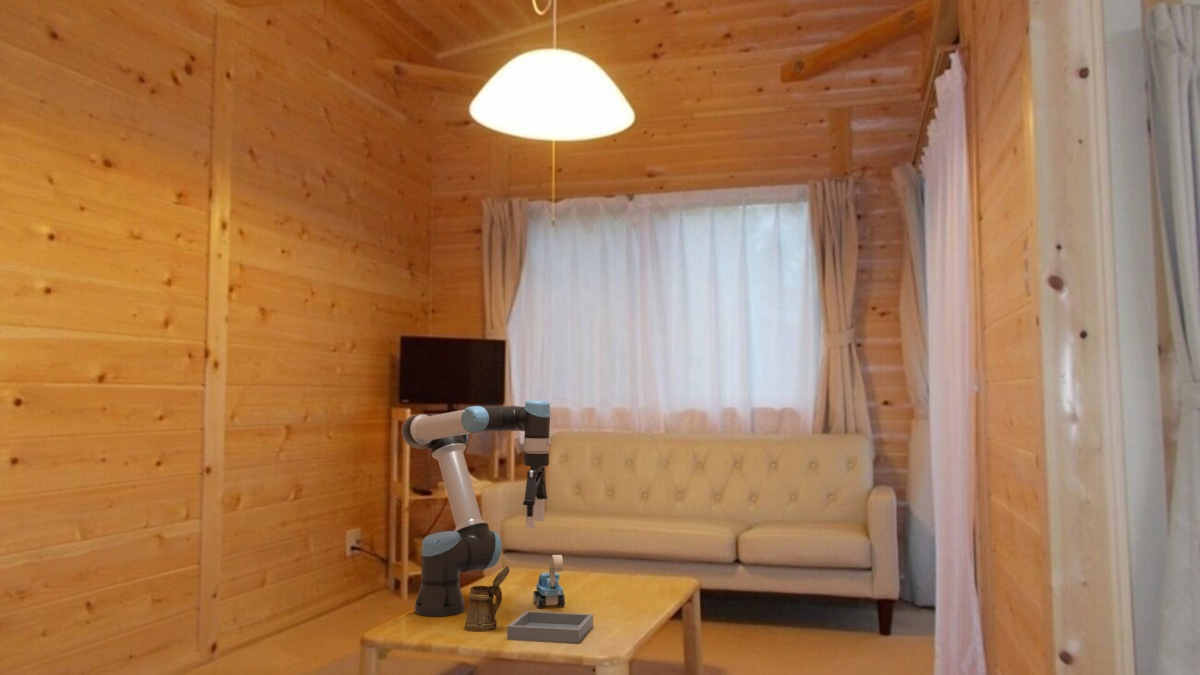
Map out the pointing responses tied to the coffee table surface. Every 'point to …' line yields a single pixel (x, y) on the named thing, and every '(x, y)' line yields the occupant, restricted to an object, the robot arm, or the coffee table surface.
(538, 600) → the toy excavator
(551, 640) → the slate tray
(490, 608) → the wooden mug
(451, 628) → the coffee table surface
